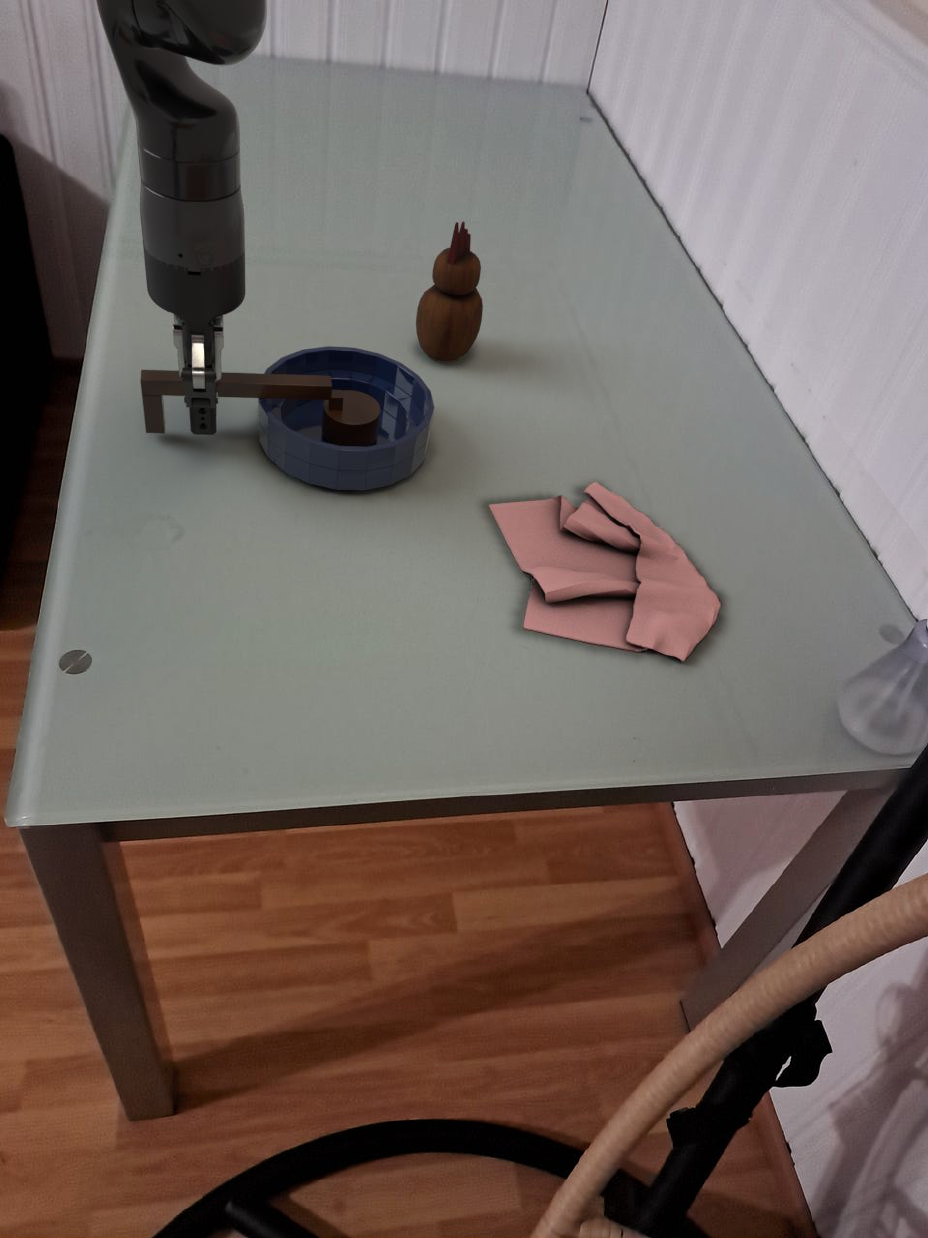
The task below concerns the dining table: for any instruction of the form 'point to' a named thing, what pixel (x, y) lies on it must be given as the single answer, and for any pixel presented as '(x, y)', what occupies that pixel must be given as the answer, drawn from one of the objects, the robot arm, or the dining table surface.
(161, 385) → the ladle
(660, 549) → the cloth
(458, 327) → the wooden figurine
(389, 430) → the bowl
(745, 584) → the dining table surface
